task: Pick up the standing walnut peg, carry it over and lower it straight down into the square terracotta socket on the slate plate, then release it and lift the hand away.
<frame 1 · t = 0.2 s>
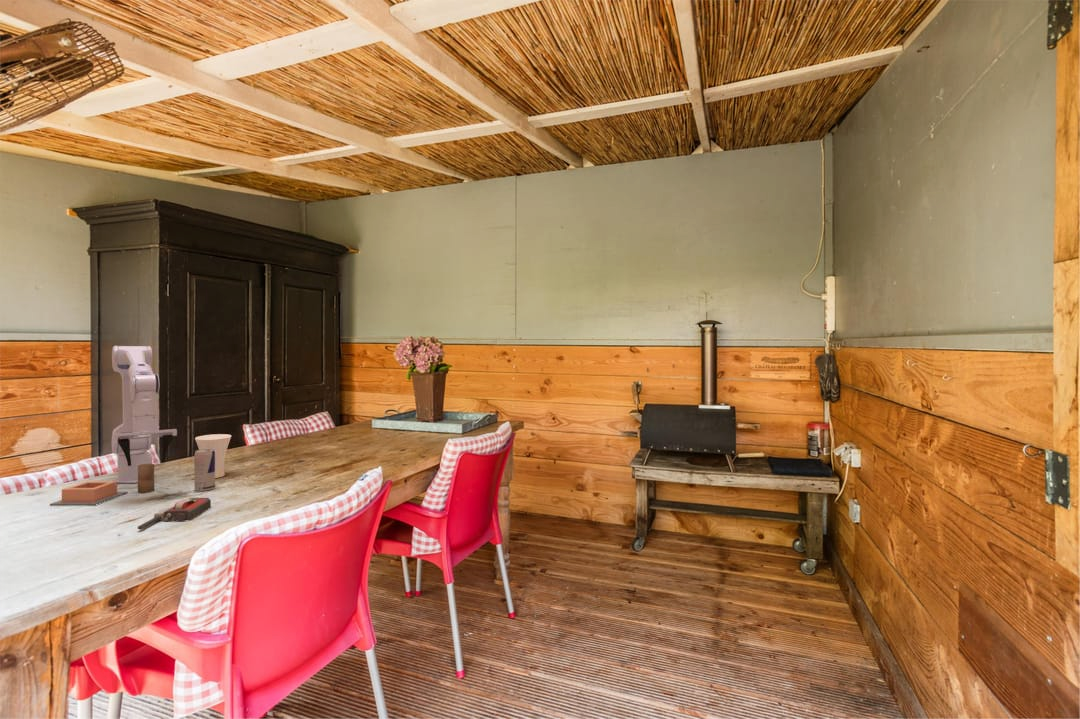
hand: (146, 463, 149), 10 cm above the table, tool pointing down, fingers open, 7 cm apart
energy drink: (204, 489, 161), on the table
walkie-talkie: (177, 520, 134), on the table
walnut peg: (146, 491, 158), on the table
cup: (213, 476, 176), on the table
socket: (90, 499, 149), on the table
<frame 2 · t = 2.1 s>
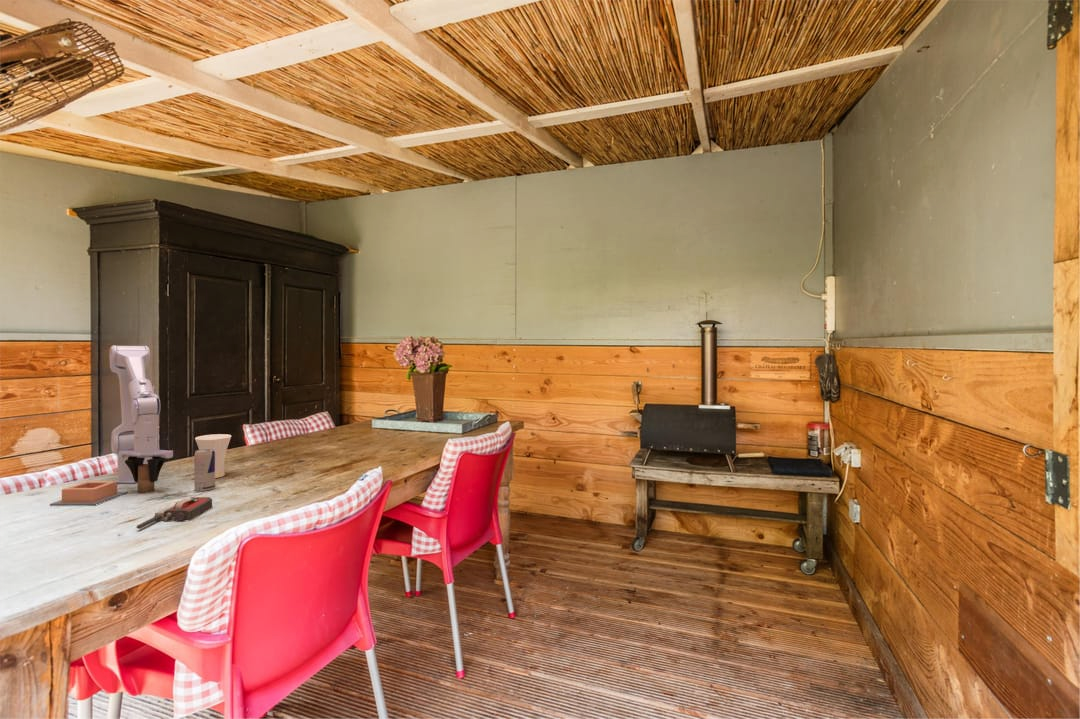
hand: (146, 481, 158), 3 cm above the table, tool pointing down, fingers closed on walnut peg, 4 cm apart
walnut peg: (146, 491, 158), on the table, touching gripper
everything else where it was.
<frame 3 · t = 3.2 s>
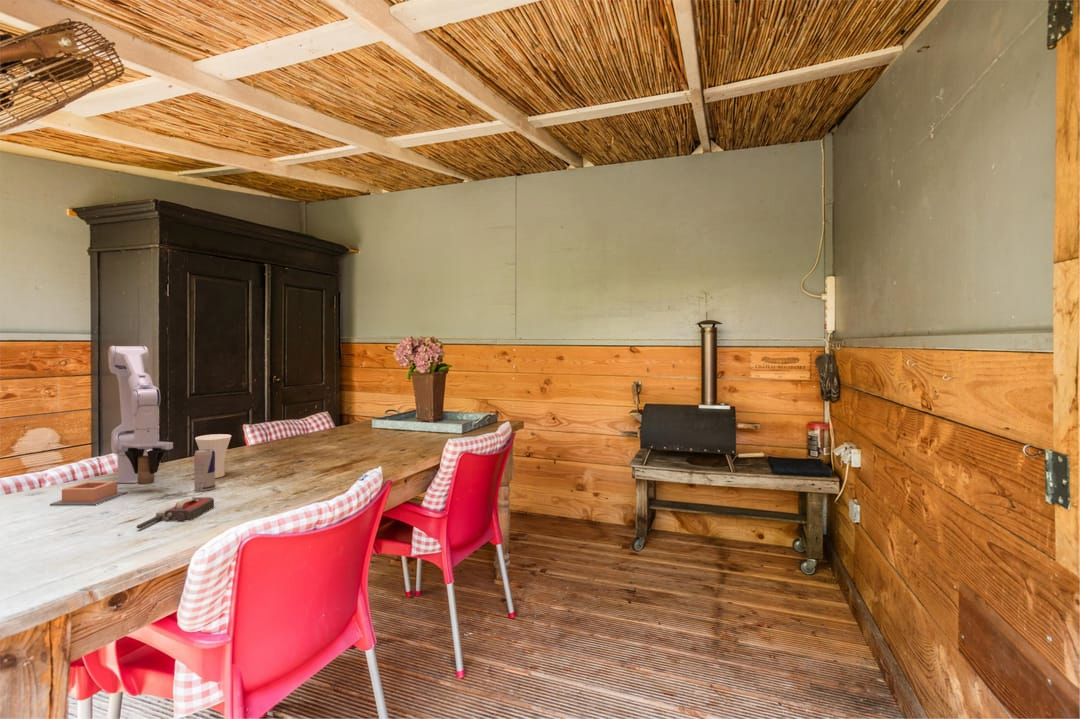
hand: (146, 472, 158), 6 cm above the table, tool pointing down, fingers closed on walnut peg, 4 cm apart
walnut peg: (146, 482, 158), point 3 cm above the table, touching gripper
everything else where it was.
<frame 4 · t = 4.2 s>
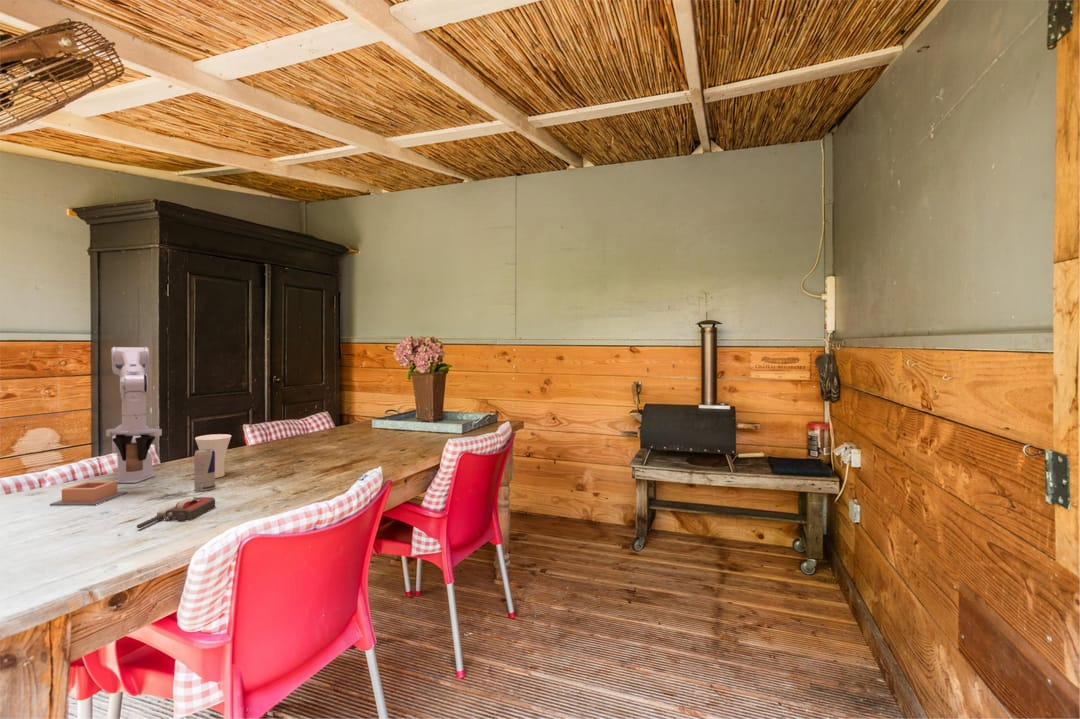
hand: (134, 460, 156), 10 cm above the table, tool pointing down, fingers closed on walnut peg, 4 cm apart
walnut peg: (134, 470, 156), point 7 cm above the table, touching gripper
everything else where it was.
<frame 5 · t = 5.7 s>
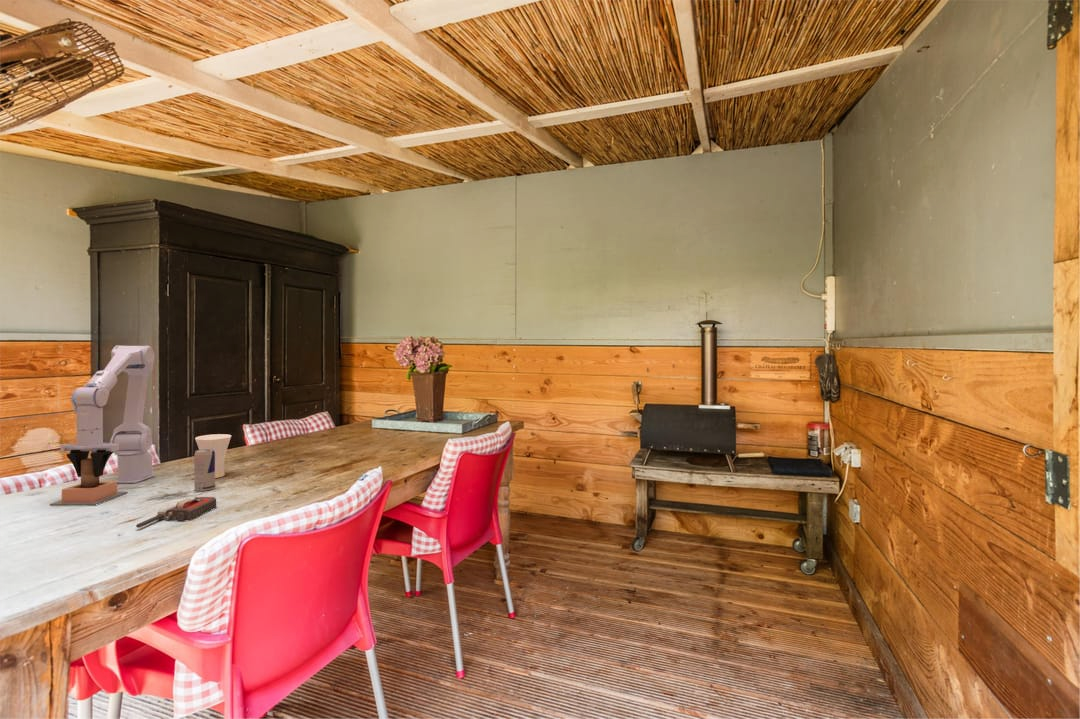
hand: (90, 476, 149), 7 cm above the table, tool pointing down, fingers closed on walnut peg, 4 cm apart
walnut peg: (90, 486, 149), point 4 cm above the table, touching gripper
everything else where it was.
when the fingers open (5 cm above the table, at t = 6.6 s): walnut peg drops 1 cm, resting on socket.
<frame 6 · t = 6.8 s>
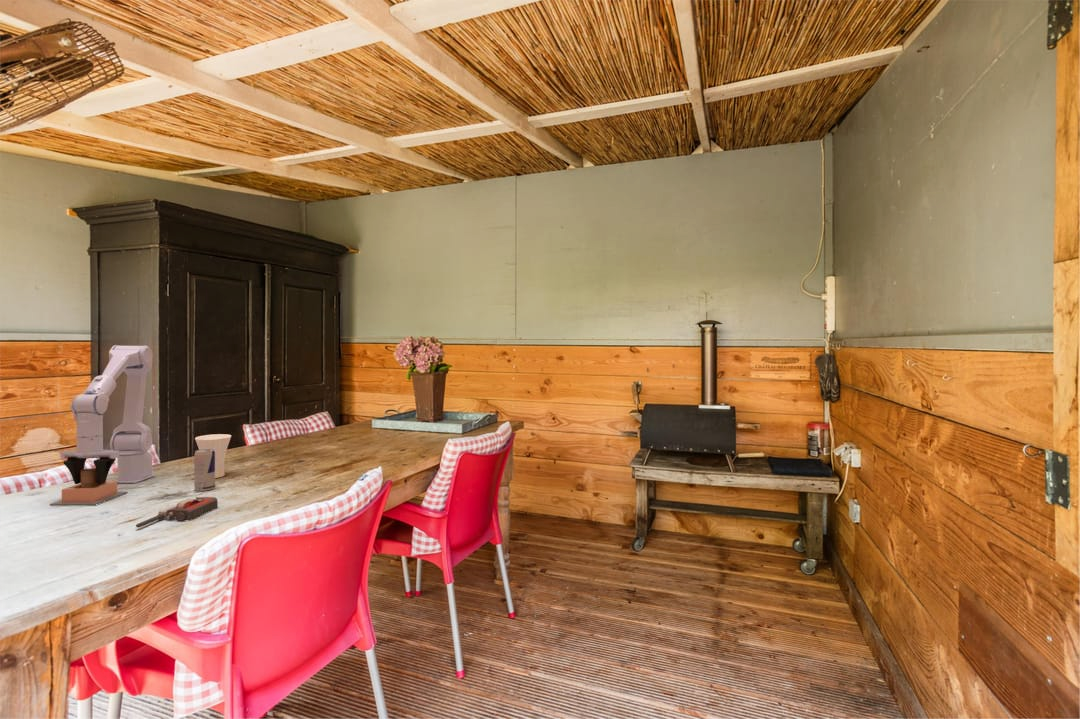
hand: (90, 483, 149), 5 cm above the table, tool pointing down, fingers open, 6 cm apart
walnut peg: (90, 497, 149), point 1 cm above the table, touching socket
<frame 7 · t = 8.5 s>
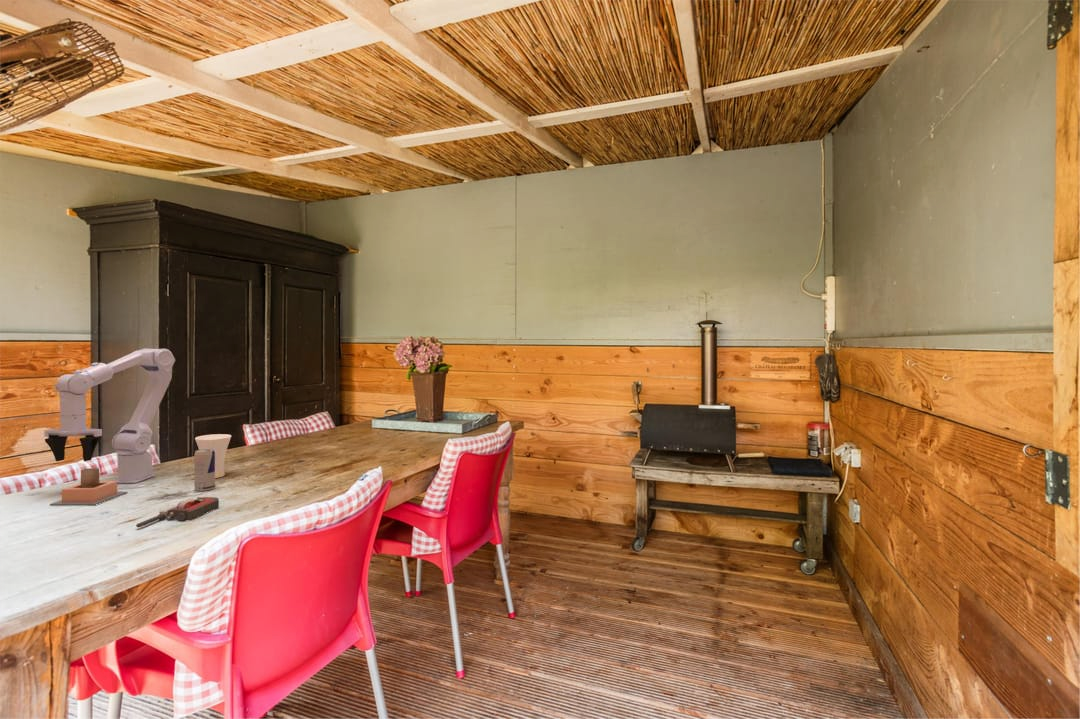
hand: (73, 460, 154), 10 cm above the table, tool pointing down, fingers open, 7 cm apart
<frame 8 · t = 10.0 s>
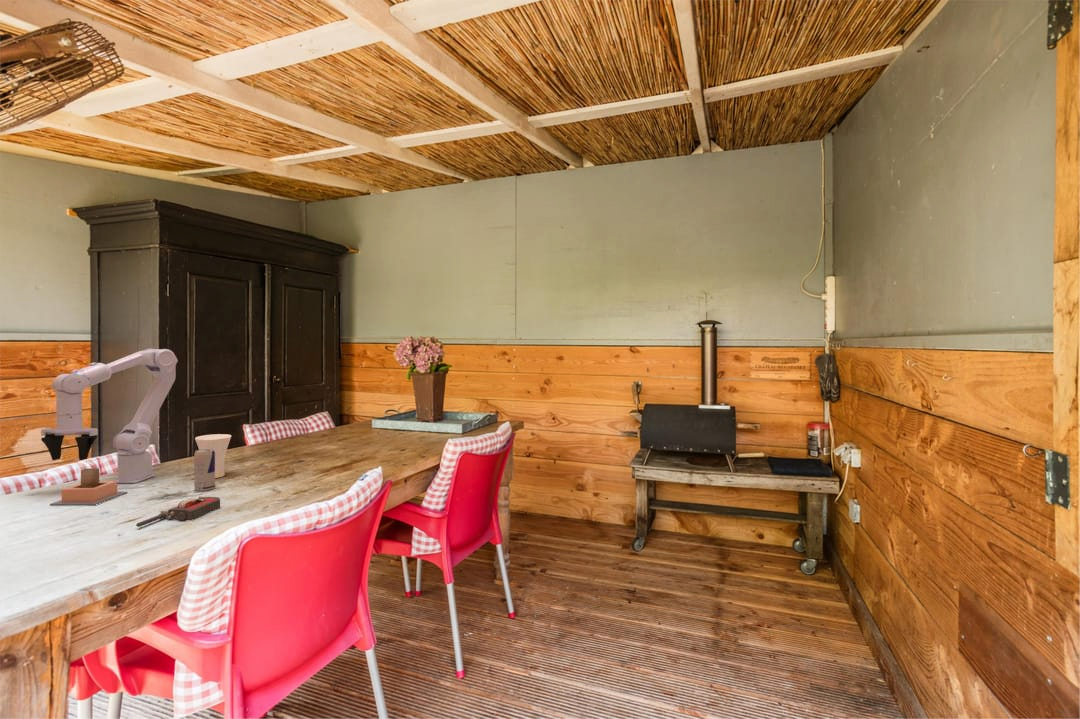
hand: (69, 459, 155), 10 cm above the table, tool pointing down, fingers open, 7 cm apart
at the end: walnut peg 0.0 cm off-centre on the socket, point 0.5 cm above the socket's base; walnut peg tilted 0°; the gripper is holding nothing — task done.
